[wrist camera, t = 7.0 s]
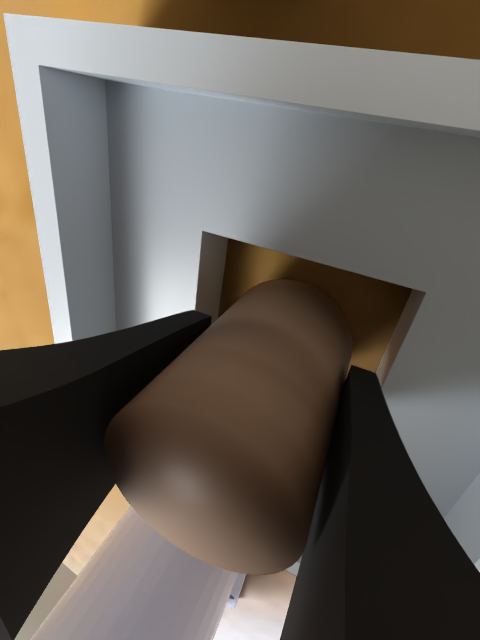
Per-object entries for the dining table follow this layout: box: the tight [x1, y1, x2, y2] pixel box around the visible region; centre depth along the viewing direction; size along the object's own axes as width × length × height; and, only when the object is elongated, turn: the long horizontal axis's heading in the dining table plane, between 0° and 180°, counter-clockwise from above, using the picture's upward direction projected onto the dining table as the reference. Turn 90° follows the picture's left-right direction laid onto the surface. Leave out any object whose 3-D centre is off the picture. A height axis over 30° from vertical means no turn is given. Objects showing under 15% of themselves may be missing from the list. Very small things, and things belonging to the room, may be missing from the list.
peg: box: [104, 279, 352, 575], centre depth 8 cm, size 4×4×6 cm
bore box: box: [3, 13, 480, 576], centre depth 10 cm, size 14×14×4 cm
